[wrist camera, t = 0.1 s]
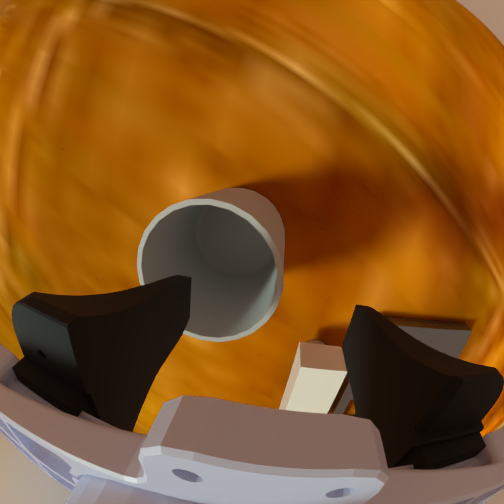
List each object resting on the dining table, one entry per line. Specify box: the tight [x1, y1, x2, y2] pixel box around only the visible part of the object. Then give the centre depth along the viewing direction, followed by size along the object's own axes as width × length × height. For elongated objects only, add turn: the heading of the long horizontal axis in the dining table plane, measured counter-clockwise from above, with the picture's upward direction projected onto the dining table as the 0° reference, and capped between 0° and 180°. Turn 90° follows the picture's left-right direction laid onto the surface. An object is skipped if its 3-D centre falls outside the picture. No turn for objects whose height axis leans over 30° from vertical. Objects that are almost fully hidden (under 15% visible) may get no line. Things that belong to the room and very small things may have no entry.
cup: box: [137, 188, 285, 342], centre depth 17 cm, size 7×10×9 cm
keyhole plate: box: [327, 316, 472, 417], centre depth 23 cm, size 16×12×2 cm
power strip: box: [279, 340, 347, 414], centre depth 22 cm, size 11×4×5 cm, turn 172°
